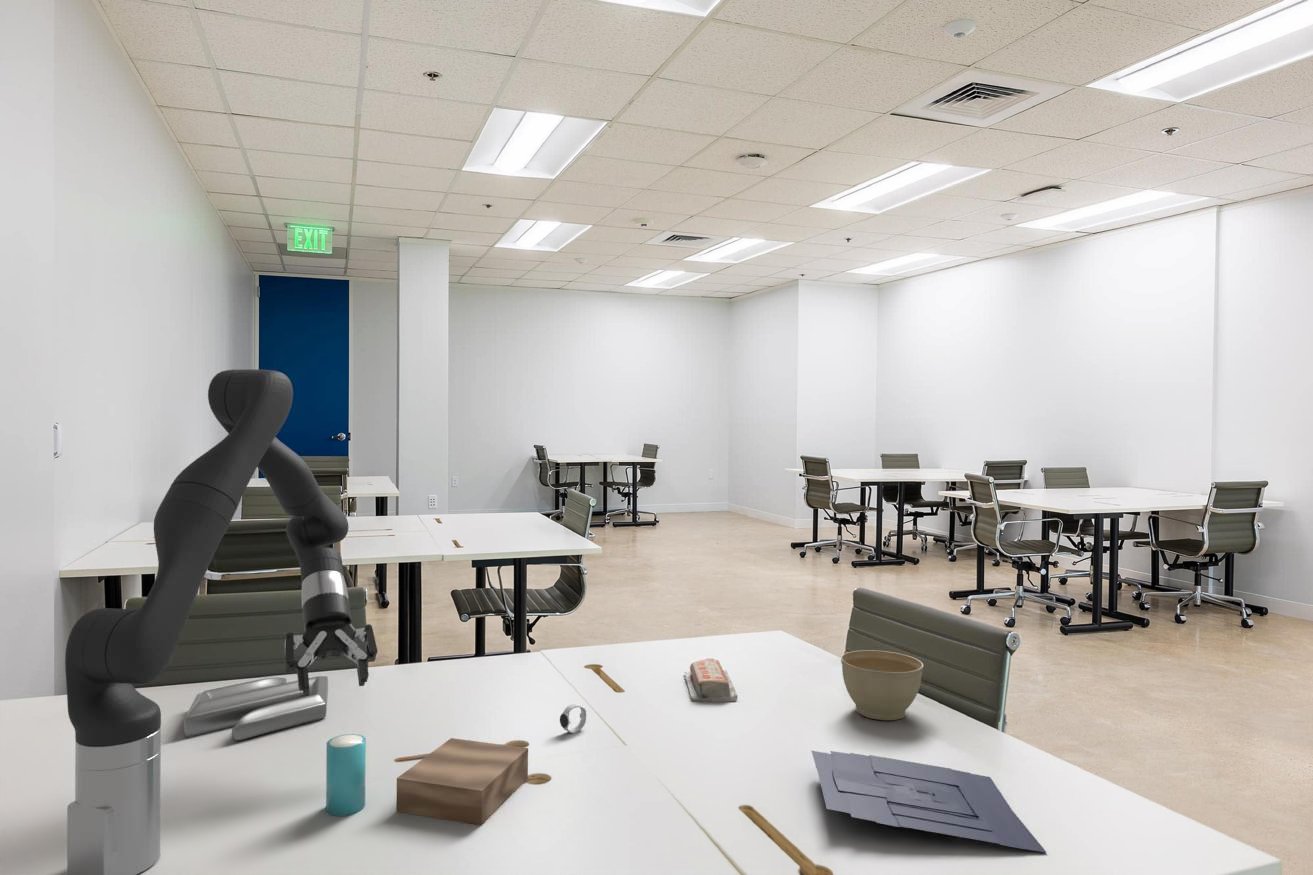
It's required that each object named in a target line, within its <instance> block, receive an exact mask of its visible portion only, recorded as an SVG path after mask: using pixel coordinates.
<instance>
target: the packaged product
mask: <svg viewBox="0 0 1313 875" xmlns="http://www.w3.org/2000/svg"><path fill="white" fill-rule="evenodd" d="M689 669H690V670H689V671H688V672H686V671H684V677H685V678H686V679H685V682H686V684H687V690H688V689H689V690H688V692H689V696H690V698H691V702H737V701H738V695H739V694H737V692H736V688H735V687H734V684H733V682H732V680H731V678H730V675H729V673H728V671H727V670H726V669H723V668H722V665H721V663H720V661H719V660H718V659H714V658H710V657H709V658H706V659H701V660H697V661H694V662H692V663H691V664H690V666H689ZM736 700H737V701H736Z"/></svg>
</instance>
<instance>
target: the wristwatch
mask: <svg viewBox="0 0 1313 875" xmlns="http://www.w3.org/2000/svg"><path fill="white" fill-rule="evenodd" d="M576 708H579V709H580V713H579V718H580V721H579V723H578V724H577V725H576V726H575V727H574V728H571V729H570V730H569V726H570V724H571V721H570V712H571V711H572V710H573V709H576ZM586 722H587V711H586V708H584V707H582V706H581V705H577V704H576V703H575V704H569V705H567V706H566V707H565V709H564V710H563V711H562V713H561V714H560V717H559V723H560V726H561V727H562V729H563V730H565V732H568V733H571V734H576V733H578V732H580V731H581V730H582V729H583V727H584V726H585V724H586Z"/></svg>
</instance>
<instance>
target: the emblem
mask: <svg viewBox="0 0 1313 875" xmlns="http://www.w3.org/2000/svg"><path fill="white" fill-rule="evenodd" d="M308 678H309V693H308V694H303V691H300V690H299V688H298V680H293V681H289V682H287V681H288V680H287V678H284V677H278V676H277V677H265V678H261V679H256V680H250V681H245V682H240V683H235V684H231V685H226V686H221V687H217V688H212V689H207V690H204V691H202V692H200V693H197V694H196V695H195V697H194V699H193V701H192V703H191V706H190V707H189V709H188V710H187V714H186V715H185V717H184V721H183V736H184V737H183V738H185V739H188V738H194V737H198V736H201V735H206V734H210V733H215V732H218V731H222V730H226V729H230V728H232V730H231V737H232V738H233V739H235V740H236V741H242V740H244V741H245V740H246V739H250V738H254V737H258V736H262V735H265V734H269V733H273V732H276V731H280V730H284V729H287V728H291V727H294V726H298V725H302V724H307V723H310V722H313V721H314V722H315V721H317V720H321V719H324V718H326V716H327V711H328V710H327V709H328V697H329V696H328V695H329V679H328V678H329V677H328V676H327V675H325V676H323V675H318V676H313V677H308Z"/></svg>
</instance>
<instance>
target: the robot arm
mask: <svg viewBox="0 0 1313 875" xmlns="http://www.w3.org/2000/svg"><path fill="white" fill-rule="evenodd" d="M292 384H293V383H292V382H291V380H290V378H289V377H288V376H287V375H286V374H284V373H283V372H282V371H281V372H280V371H277V370H273V369H272V370H271V369H242V368H240V369H227V370H222V371H220V372H218V373H217V374H215V375H214V376H213V377H212V379H211V380H210V383H209V385H208V390H207V399H208V404H209V408H210V410H211V412H212V414H213V416H214V417H215V419H216V420H217V421H218V423H219V424H220V425H221V427H223V429H224V430H225V431H226V432H227V435H226V436H225V437H224V438H223V439H222V440H220V441H219V442H218V443H217V444H216V445H214V446H213V447H211V448H210V449H208V450H207V451H206V452H204V453H203V454H201V455H199V457H197V458H196V459H195V460H193V461H192V462H190V464H188V465H187V466H186V467H185V468H184V469H183V470H181V472H180V473H179V474H178V475H177V476H176V477H175V478H174V480H173V482H172V483H171V485H170V486H169V488H168V490H167V492H166V494H165V496H164V497H163V499H162V501H161V502H160V504H159V506H158V508H157V510H156V513H155V516H154V520H153V536H154V543H155V548H156V554H157V560H158V561H157V562H158V566H157V567H158V568H157V574H156V577H155V579H154V583H153V585H152V586H151V589H150V590H149V592H148V595H147V597H146V599H145V601H144V602H143V603H142V605H141V606H140V608H139V609H134V608H133V609H131V608H115V607H114V608H111V607H110V608H108V607H105V608H104V607H103V608H95V609H92V610H89V611H88V612H86V613H84V614H83V615H82V616H80V618H78V619H77V621H76V622H75V624H74V625H73V627H72V628H71V630H70V633H69V635H68V639H67V641H66V645H65V646H66V647H65V657H64V659H65V660H64V661H65V662H64V664H65V666H64V667H65V670H64V672H65V683H66V684H65V685H66V700H67V702H66V704H67V713H68V718H69V720H70V721H69V722H70V723H71V725H72V727H73V728H74V733H75V734H74V738H75V740H74V741H75V758H74V759H75V760H74V761H75V766H74V769H75V771H74V772H75V773H74V774H75V775H74V778H75V779H74V785H75V786H74V788H75V789H74V792H75V793H74V794H75V795H74V801H71V802H70V803H68V804H67V809H66V812H67V813H66V814H67V815H66V816H67V817H66V820H67V821H66V824H67V825H66V826H67V828H66V829H67V830H66V831H67V832H66V842H67V843H66V847H67V848H66V862H67V863H66V865H67V866H66V875H138V874H141V873H142V872H144V871H146V870H147V869H150V868H151V867H152V866H154V865H155V864H156V863H157V862H158V860H159V858H160V856H161V793H162V792H161V788H162V787H161V786H162V785H161V780H162V779H161V778H162V776H161V774H162V773H161V771H162V770H161V768H162V766H161V761H162V760H161V758H162V757H161V755H162V753H161V748H162V744H161V743H162V713H161V708H160V705H159V704H158V703H157V702H155V701H154V700H152V699H150V698H148V697H147V696H145V695H143V694H141V692H139V691H138V690H137V689H136V688H135V687H134V684H135V685H141V684H147V683H149V682H150V683H151V682H152V681H154V680H155V679H156V680H157V678H158V677H159V676H161V675H162V673H164V671H165V670H166V669H167V667H168V666H169V664H170V663H171V661H172V660H173V658H174V655H175V654H176V651H177V649H178V646H179V643H180V641H181V638H182V636H183V634H184V631H185V628H186V626H187V622H188V619H189V617H190V614H191V611H192V609H193V605H194V604H195V600H196V597H197V594H198V591H199V589H200V586H201V585H202V582H203V580H204V577H205V576H206V573H207V571H208V569H209V567H210V564H211V562H212V560H213V557H214V555H215V554H216V551H217V550H218V547H219V545H220V544H221V541H222V540H223V537H224V535H225V534H226V532H227V530H228V529H229V526H230V524H231V522H232V519H233V517H235V516H234V515H235V513H236V512H237V510H238V507H239V505H240V502H241V500H242V498H243V495H244V493H245V491H246V489H247V487H248V485H249V483H250V481H251V479H252V478H253V475H254V473H255V472H256V470H257V469H258V470H259V471H260V472H261V474H262V475H263V477H264V478H265V479H266V482H267V483H268V485H269V486H270V488H271V490H272V492H273V493H274V495H275V497H276V499H277V500H278V502H279V504H280V506H281V508H282V509H283V511H284V512H285V513H286V514H287V515H289V516H291V518H289V521H288V522H287V524H286V526H285V532H286V533H285V534H286V537H287V538H288V541H289V543H290V544H291V547H292V549H293V551H294V552H295V555H296V558H297V560H298V563H299V567H300V568H299V569H300V578H301V593H300V594H301V595H300V596H301V608H302V609H301V610H302V617H303V630H304V633H303V634H295V635H294V633H293V632H287V633H286V634H285V638H284V672H286V673H291V672H293V673H295V674H296V675H297V681H298V688H299V690H300V691H303V694H308V693H309V678H310V677H309V670H308V669H309V667H310V665H312V664H313V663H314V661H315V660H316V659H317V657H318V658H320V659H322V660H323V659H327V658H330V657H334V658H337V657H342V655H344V656H345V657H346V658H347V659H348V660H351V661H353V663H355V664H356V665H357V666H356V672H357V679H358V686H359V687H363V686H365V683H367V682H368V679H369V676H370V675H369V667H368V663H373V662H375V661H376V659H377V655H378V647H377V643H376V638H375V634H374V629H373V626H372V624H369V623H367V624H366V625H365V626H364V627H362V628H355V627H354V626H353V623H352V615H351V609H350V601H349V593H348V587H347V583H346V580H345V573H344V567H343V558H342V556H341V553H340V552H339V551H338V550H337V549H335V548H332V547H327V546H329V545H334V544H337V543H339V542H342V541H343V540H344V539H345V538H346V537H347V535H348V532H349V521H348V519H347V516H346V515H345V513H344V511H343V510H342V509H341V508H340V507H339V506H338V505H337V504H336V503H335V502H334V501H333V500H332V499H330V498H329V497H328V496H327V495H326V494H325V493H324V492H323V490H322V489H321V488H320V486H319V483H318V482H317V479H316V478H315V476H314V474H313V472H312V470H311V469H310V467H309V465H308V463H307V462H306V461H304V460H303V458H301V456H299V454H297V453H296V452H295V451H293V449H291V448H290V447H289V446H287V445H286V444H285V443H283V442H282V441H280V440H279V439H278V437H277V435H278V434H279V432H280V430H281V429H282V427H283V425H284V424H285V422H286V421H287V418H288V417H289V413H290V412H291V408H292V405H293V399H294V389H293V385H292ZM356 637H358V638H359V640H360V641H361V642H364V645H365V650H366V652H365V651H364V650H362V648H360V647H359V645H358V644H357V642H355V641H354V640H355V638H356ZM300 644H302V645H303V646H304V647H306V651H305V653H304V655H303V656H302V657H301V658H300V660H299V661H298V660H295V657H294V656H295V650H296V649H298V647H299V645H300Z"/></svg>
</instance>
